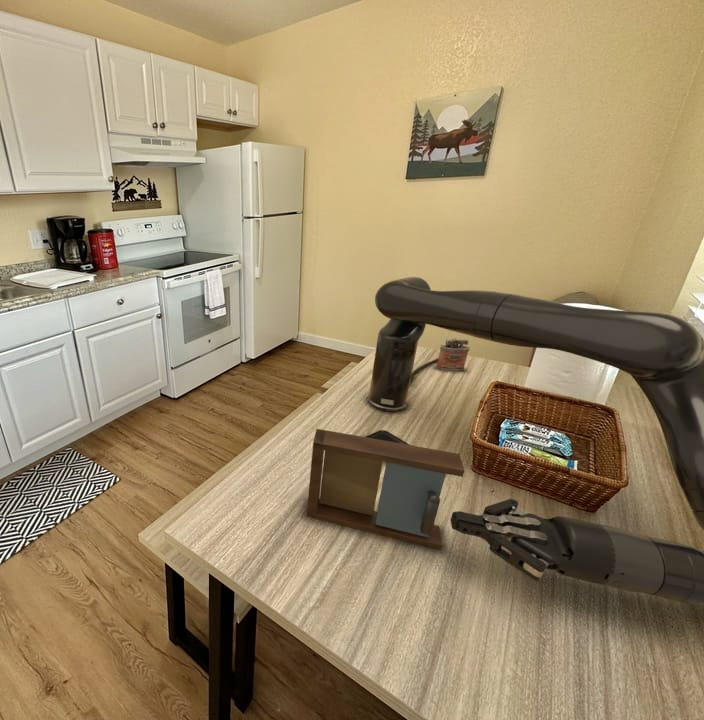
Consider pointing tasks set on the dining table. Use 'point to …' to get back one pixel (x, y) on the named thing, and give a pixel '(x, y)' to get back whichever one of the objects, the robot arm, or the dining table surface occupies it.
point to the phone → (386, 437)
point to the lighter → (453, 355)
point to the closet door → (409, 499)
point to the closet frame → (366, 480)
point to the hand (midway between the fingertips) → (452, 520)
